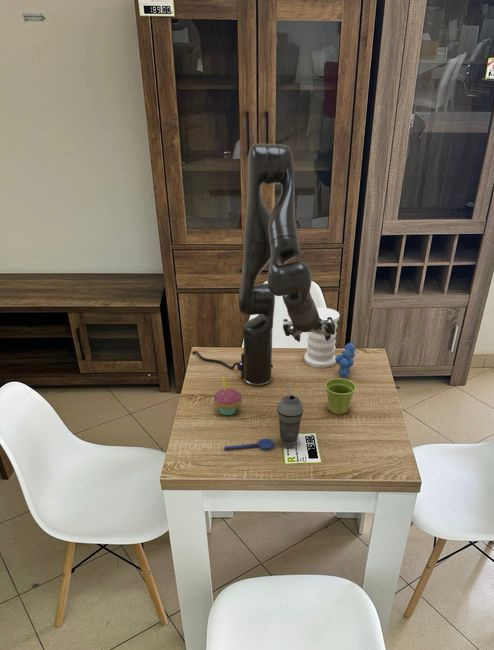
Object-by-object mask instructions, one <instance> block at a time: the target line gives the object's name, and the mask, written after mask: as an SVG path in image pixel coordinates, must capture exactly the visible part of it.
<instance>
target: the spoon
mask: <svg viewBox="0 0 494 650" xmlns="http://www.w3.org/2000/svg"><path fill="white" fill-rule="evenodd" d="M274 447H275V442H274V441H273V440H272V439H270V438H262V439H260V440H259V441H258V443H250V444H249V443H247V444H241V445H240V444H239V445H230V446H229V445H228V446H224V447H223V448H224V450H226V451H229V450H238V449H249V448H250V449H251V448H259V449H260V450H262V451H271V450H273V448H274Z"/></svg>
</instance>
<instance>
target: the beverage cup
mask: <svg viewBox="0 0 494 650" xmlns="http://www.w3.org/2000/svg"><path fill="white" fill-rule="evenodd" d="M286 390H287V395H285V396H283V397H282V398H281V399H280V400H279V402H278V404H277V407H276V412H277V416H278V427H279V440H280V445H281V447H283V448H286V449H293V448H295V447H296V446H297V443H298V438H299V431H300V426H301V421H302V420H301V419H302V417H303V415H304V414H303V413H304V405H303V402H302V401H301V399H300V398H299V397H298V396H296V395H292V394H290V393H291V392H290V381H289V380H288V381H286Z"/></svg>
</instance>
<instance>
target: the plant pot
mask: <svg viewBox="0 0 494 650" xmlns="http://www.w3.org/2000/svg"><path fill="white" fill-rule="evenodd" d="M324 387H325V390H326V393H327V408H328V409H327V410H328V411H330V412H331V413H332V414H335V415H342V414H343V415H344V414H346V413H348V411H349V407H350V404H351V402H352V401H351V400H352V397H353V395H354V393H355V392H356V390H357V385H356V383H355V382H353V381H352V380H350V379H347V378H346V379H343V378H340V377H336V378H330V379H328V380H327V381H326V382H325V383H324Z"/></svg>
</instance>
